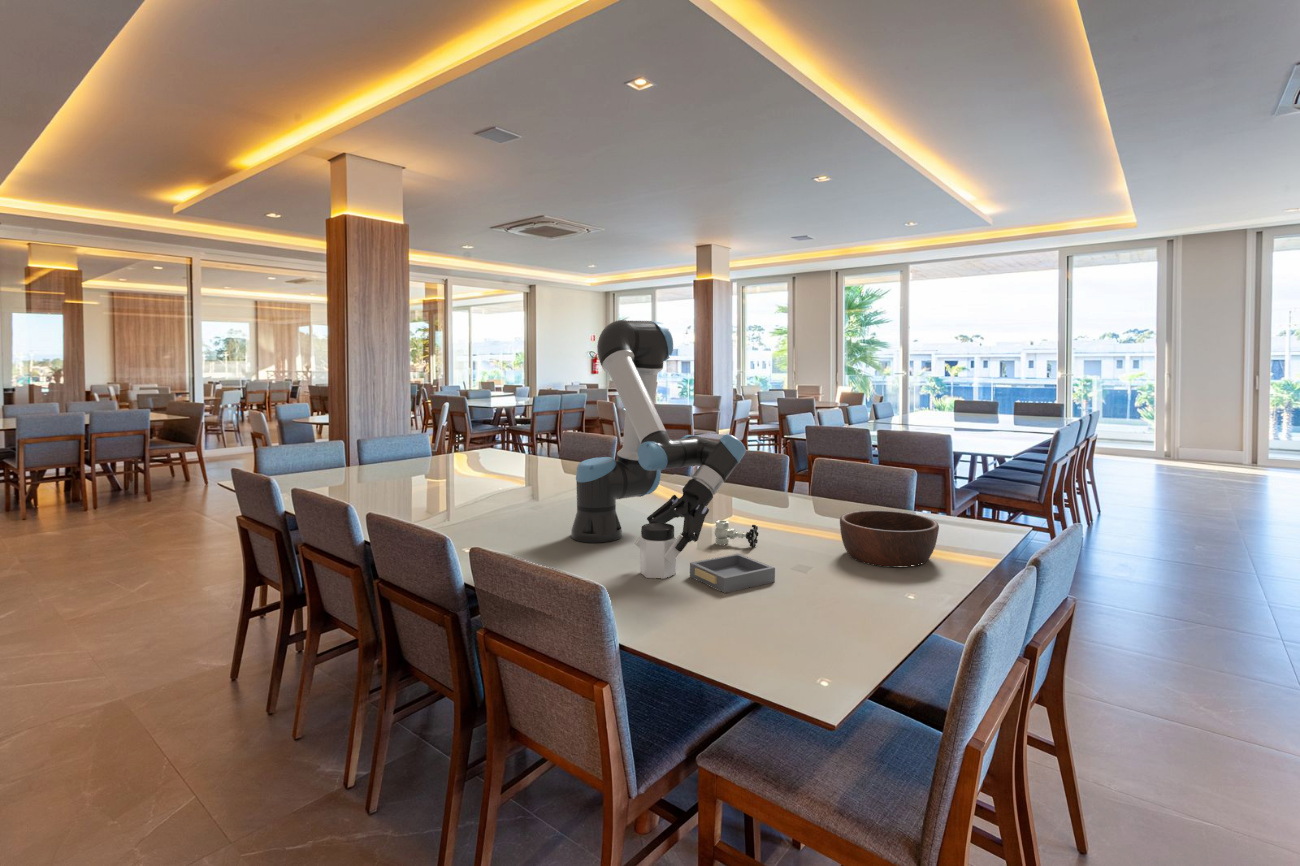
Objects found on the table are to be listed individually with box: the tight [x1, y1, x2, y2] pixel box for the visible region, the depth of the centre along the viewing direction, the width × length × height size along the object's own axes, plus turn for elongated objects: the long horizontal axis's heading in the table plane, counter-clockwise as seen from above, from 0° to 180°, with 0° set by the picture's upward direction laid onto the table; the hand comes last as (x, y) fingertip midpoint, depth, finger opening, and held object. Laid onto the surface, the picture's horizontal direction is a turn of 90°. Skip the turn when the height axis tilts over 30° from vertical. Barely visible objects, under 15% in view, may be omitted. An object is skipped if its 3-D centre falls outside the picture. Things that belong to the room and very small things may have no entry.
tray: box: [689, 553, 776, 594], centre depth 164 cm, size 14×16×4 cm
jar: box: [639, 522, 677, 580], centre depth 169 cm, size 9×8×12 cm
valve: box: [714, 519, 759, 548], centre depth 195 cm, size 7×7×12 cm
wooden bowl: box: [839, 509, 940, 567], centre depth 182 cm, size 25×25×10 cm
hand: (652, 553), depth 167 cm, fingers open, 13 cm apart
